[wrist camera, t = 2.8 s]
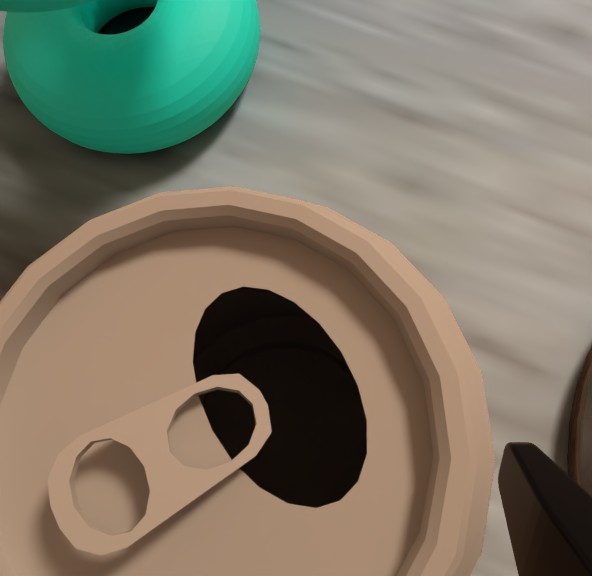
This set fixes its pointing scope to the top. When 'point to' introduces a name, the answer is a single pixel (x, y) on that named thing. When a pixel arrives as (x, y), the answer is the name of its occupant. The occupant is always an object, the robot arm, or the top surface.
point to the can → (236, 400)
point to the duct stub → (582, 430)
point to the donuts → (130, 68)
